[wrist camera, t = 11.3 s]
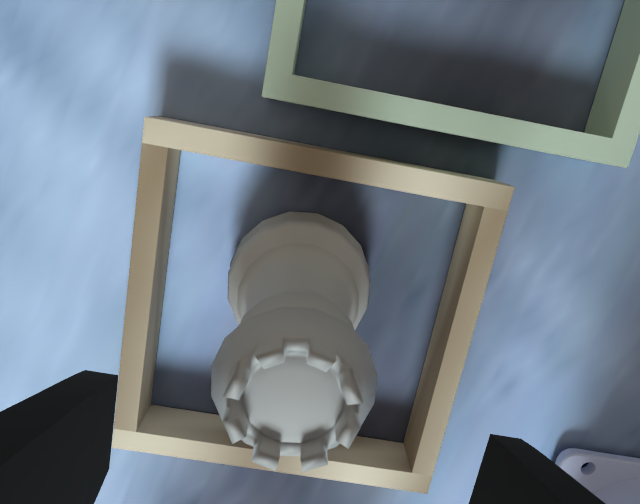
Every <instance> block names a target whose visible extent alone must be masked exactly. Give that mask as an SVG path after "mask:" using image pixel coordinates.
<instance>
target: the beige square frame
mask: <svg viewBox="0 0 640 504" xmlns="http://www.w3.org/2000/svg"><path fill="white" fill-rule="evenodd" d="M181 150H183V151H189V152H194V153H199V154H205V155H210V156H215V157H221V158H226V159H231V160H237V161H242V162H247V163H253V164H258V165H264V166H269V167H274V168H280V169H285V170H290V171H296V172H301V173H306V174H312V175H317V176H322V177H328V178H333V179H339V180H344V181H349V182H355V183H360V184H365V185H371V186H376V187H381V188H387V189H392V190H397V191H403V192H408V193H413V194H419V195H424V196H430V197H435V198H440V199H446V200H451V201H456V202H462V203H466V206H465V210H464V214H463V218H462V222H461V225H460V229H459V233H458V237H457V241H456V244H455V248H454V252H453V256H452V260H451V263H450V267H449V271H448V275H447V279H446V282H445V286H444V290H443V294H442V298H441V301H440V305H439V309H438V313H437V317H436V321H435V324H434V328H433V332H432V336H431V340H430V343H429V347H428V351H427V355H426V359H425V362H424V366H423V370H422V374H421V378H420V381H419V385H418V389H417V393H416V397H415V400H414V404H413V408H412V412H411V416H410V419H409V423H408V427H407V431H406V435H405V438H404V442H403V443H399V442H393V441H386V440H380V439H373V438H367V437H360V436H356V437H355V439H354V440H353V442H352V444H351V446H350V447H349V449H348V448H346V447H345V446H343V445H342V444H339V445H338V446H337V447H335V448H332V449H328V450H327V456H328V465H325V466H322V467H319V468H316V469H312V470H309V471H306V472H302V466H301V460H300V456H280V458H279V462H278V465H277V469H276V471H275V472H282V473H289V474H296V475H302V476H309V477H316V478H323V479H330V480H337V481H343V482H350V483H357V484H364V485H371V486H378V487H385V488H391V489H398V490H405V491H412V492H419V493H426V494H428V490H429V487H430V483H431V480H432V476H433V472H434V469H435V465H436V462H437V458H438V455H439V451H440V448H441V444H442V441H443V437H444V434H445V430H446V427H447V423H448V420H449V416H450V413H451V409H452V406H453V402H454V399H455V395H456V392H457V388H458V385H459V381H460V378H461V374H462V371H463V367H464V364H465V360H466V357H467V353H468V350H469V346H470V343H471V339H472V335H473V332H474V328H475V325H476V321H477V318H478V314H479V311H480V307H481V304H482V300H483V297H484V293H485V290H486V286H487V283H488V279H489V276H490V272H491V269H492V265H493V262H494V258H495V255H496V251H497V248H498V244H499V241H500V237H501V234H502V230H503V227H504V223H505V220H506V216H507V213H508V209H509V206H510V202H511V198H512V195H513V191H514V188H515V187H513V186H510V185H508V184H505V183H502V182H499V181H496V180H493V179H487V178H482V177H477V176H472V175H466V174H461V173H456V172H451V171H445V170H440V169H435V168H430V167H424V166H419V165H414V164H409V163H403V162H398V161H393V160H388V159H382V158H377V157H372V156H367V155H361V154H356V153H351V152H346V151H340V150H335V149H330V148H325V147H320V146H314V145H309V144H304V143H299V142H293V141H288V140H283V139H278V138H272V137H267V136H262V135H257V134H251V133H246V132H241V131H236V130H230V129H225V128H220V127H215V126H209V125H204V124H199V123H194V122H188V121H183V120H178V119H173V118H167V117H162V116H152V117H145V118H144V128H143V138H142V149H141V159H140V169H139V179H138V189H137V199H136V209H135V219H134V229H133V239H132V249H131V259H130V270H129V280H128V290H127V300H126V310H125V320H124V330H123V340H122V350H121V360H120V370H119V381H118V391H117V401H116V411H115V421H114V431H113V441H112V448H117V449H124V450H131V451H138V452H145V453H152V454H159V455H165V456H172V457H179V458H186V459H193V460H200V461H207V462H213V463H220V464H227V465H234V466H241V467H248V468H254V469H261V470H268V471H274V470H271V469H269V468H266V467H264V466H261V465H259V464H256V463H254V462H251V460H252V454H253V446H250V445H248V444H246V443H244V442H243V441H242V440H239V441H237V442H235V443H233V444H232V442H231V440H230V437H229V435H228V433H227V431H226V428H225V426H224V424H223V422H222V419H221V417H220V415H216V414H209V413H203V412H196V411H190V410H183V409H176V408H170V407H163V406H157V405H151V399H152V390H153V382H154V373H155V365H156V357H157V348H158V340H159V331H160V323H161V314H162V306H163V297H164V289H165V280H166V272H167V263H168V255H169V247H170V238H171V230H172V221H173V213H174V204H175V196H176V187H177V179H178V170H179V162H180V154H181Z"/></svg>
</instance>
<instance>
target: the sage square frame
mask: <svg viewBox="0 0 640 504" xmlns="http://www.w3.org/2000/svg"><path fill="white" fill-rule="evenodd" d="M305 6H306V0H276V6H275V12H274V19H273V25H272V32H271V38H270V45H269V51H268V58H267V64H266V71H265V77H264V84H263V90H262V97H265V98H269V99H274V100H279V101H284V102H289V103H294V104H300V105H305V106H310V107H315V108H320V109H325V110H330V111H335V112H340V113H345V114H351V115H356V116H361V117H366V118H371V119H376V120H381V121H386V122H391V123H397V124H402V125H407V126H412V127H417V128H422V129H427V130H432V131H437V132H442V133H448V134H453V135H458V136H463V137H468V138H473V139H478V140H483V141H488V142H494V143H499V144H504V145H509V146H514V147H519V148H524V149H529V150H534V151H539V152H545V153H550V154H555V155H560V156H565V157H570V158H575V159H580V160H585V161H591V162H596V163H601V164H607V165H613V166H618V167H624V168H628V166H629V163H630V160H631V157H632V154H633V151H634V148H635V145H636V142H637V139H638V136H639V133H640V0H625V2H624V5H623V8H622V11H621V15H620V18H619V21H618V24H617V28H616V31H615V34H614V37H613V40H612V44H611V47H610V50H609V53H608V57H607V60H606V63H605V66H604V69H603V73H602V76H601V79H600V82H599V86H598V89H597V92H596V95H595V98H594V102H593V105H592V108H591V111H590V115H589V118H588V121H587V124H586V127H585V131H584V133H583V132H578V131H573V130H567V129H562V128H557V127H552V126H547V125H542V124H537V123H532V122H527V121H522V120H517V119H512V118H507V117H502V116H497V115H492V114H487V113H482V112H477V111H472V110H467V109H462V108H457V107H452V106H447V105H442V104H437V103H432V102H427V101H422V100H417V99H412V98H407V97H402V96H397V95H392V94H387V93H382V92H377V91H372V90H367V89H362V88H357V87H352V86H347V85H342V84H337V83H332V82H327V81H322V80H317V79H312V78H307V77H302V76H297V75H294V72H295V66H296V60H297V54H298V48H299V42H300V36H301V30H302V24H303V18H304V12H305Z"/></svg>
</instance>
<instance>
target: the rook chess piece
mask: <svg viewBox="0 0 640 504" xmlns="http://www.w3.org/2000/svg"><path fill="white" fill-rule="evenodd" d="M369 290H370V277H369V268H368V265H367V262H366V259H365V256H364V253H363V250H362V247H361V245H360V244H359V243H358V242H357V241H356V240H355V238H354V237H353V236H352V235H351V234H350V233H349V232H348V230H347V229H346V228H345V227H344V226H343V225H341V224H339V223H337V222H335V221H333V220H331V219H329V218H327V217H325V216H322V215H320V214H318V213H307V212H290V211H289V212H286V213H283V214H280V215H277V216H274V217H271V218H268V219H265V220H263V221H261V222H260V223H259V224H258V225H257V226H256V227H255V228H253V229H252V230H251V231H250V232H249V233H248V234H247V235H245V236H244V237H243V238H242V239H241V241H240V243H239V246H238V248H237V250H236V252H235V254H234V256H233V258H232V261H231V263H230V270H229V272H228V301H229V303H230V306H231V308H232V310H233V313H234V315H235V318H236V320H237V323H238V325H239V326H238V327H237V328H236V329H235V330H234V331H232V332H231V333H230V334H229V335H228V336H227V337H225V339H224V341H223V343H222V345H221V347H220V349H219V351H218V353H217V355H216V357H215V359H214V361H213V363H212V366H211V396H212V399H213V401H214V403H215V406H216V408H217V410H218V412H219V415H220V417H221V419H222V422H223V424H224V426H225V428H226V431H227V433H228V435H229V437H230V440H231V442H232V444H233V443H235V442H237V441H239V440H242V441H243V442H244V443H246V444H248V445H250V446H253V454H252V460H251V462H254V463H256V464H259V465H261V466H264V467H266V468H269V469H271V470H274V471H276V469H277V465H278V462H279V458H280V456H300V460H301V466H302V472H306V471H309V470H312V469H316V468H319V467H322V466H325V465H328V456H327V450H328V449H332V448H335V447H337V446H338V445H339V444H342V445H343V446H345V447H346V448H348V449H349V447H350V446H351V444H352V442H353V440H354V439H355V437H356V435H357V433H358V432H359V430H360V428H361V426H362V424H363V422H364V420H365V419H366V417H367V415H368V413H369V412H370V410H371V408H372V407H373V405H374V403H375V394H376V384H377V371H376V368H375V365H374V362H373V359H372V356H371V353H370V350H369V347H368V345H367V344H366V343H365V342H364V341H363V340H362V339H361V338H360V336H359V335H358V334H357V333H356V332H355V329H356V327H357V326H358V324H359V322H360V320H361V318H362V316H363V315H364V313H365V311H366V309H367V307H368V300H369Z"/></svg>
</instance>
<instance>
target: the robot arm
mask: <svg viewBox="0 0 640 504" xmlns="http://www.w3.org/2000/svg"><path fill="white" fill-rule="evenodd" d="M117 383H118V375H113V374H106V373H100V372H93V371H87V370H85V371H82V372H80V373H77V374H75V375H73V376H71V377H69V378H67V379H65V380H63V381H61V382H59V383H57V384H55V385H53V386H51V387H49V388H47V389H45V390H43V391H41V392H39V393H37V394H35V395H33V396H31V397H29V398H27V399H25V400H23V401H21V402H19V403H17V404H15V405H13V406H11V407H9V408H7V409H5V410H3V411H1V412H0V504H94V502H95V500H96V498H97V495H98V493H99V491H100V488H101V486H102V484H103V482H104V479H105V477H106V475H107V472H108V470H109V463H110V453H111V443H112V433H113V423H114V413H115V403H116V393H117ZM587 462H589V464H588V465H587V466H585V467H582V465H583V464H585V463H587ZM581 467H582V468H581ZM469 504H640V458H634V457H627V456H621V455H614V454H608V453H602V452H595V451H589V450H582V449H576V448H568V449H566V450H563V451H562V452H561V453H560V454H559V455H558V457H557V459H556V462H555V463H554V462H552V461H551V460H550V459H548V458H547V457H546V456H545V455H543V454H542V453H541V452H539V451H538V450H536V449H535V448H534V447H532V446H531V445H529V444H528V443H526V442H525V441H523V440H522V439H519V438H512V437H506V436H500V435H493V434H490V437H489V440H488V443H487V447H486V450H485V453H484V456H483V460H482V463H481V466H480V469H479V473H478V476H477V479H476V482H475V485H474V489H473V492H472V495H471V498H470V502H469Z"/></svg>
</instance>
